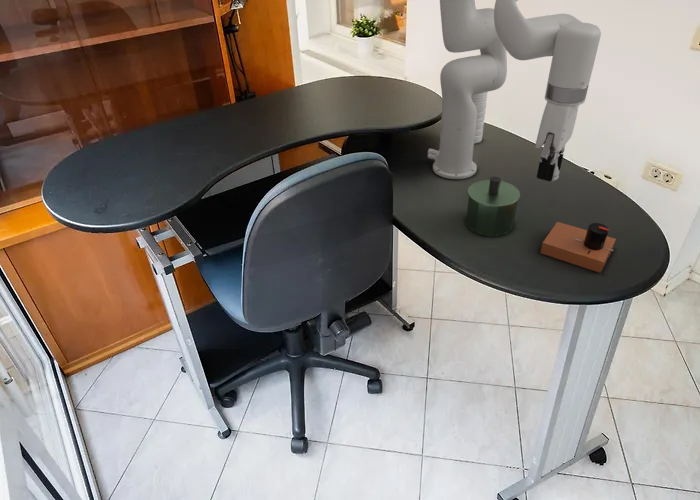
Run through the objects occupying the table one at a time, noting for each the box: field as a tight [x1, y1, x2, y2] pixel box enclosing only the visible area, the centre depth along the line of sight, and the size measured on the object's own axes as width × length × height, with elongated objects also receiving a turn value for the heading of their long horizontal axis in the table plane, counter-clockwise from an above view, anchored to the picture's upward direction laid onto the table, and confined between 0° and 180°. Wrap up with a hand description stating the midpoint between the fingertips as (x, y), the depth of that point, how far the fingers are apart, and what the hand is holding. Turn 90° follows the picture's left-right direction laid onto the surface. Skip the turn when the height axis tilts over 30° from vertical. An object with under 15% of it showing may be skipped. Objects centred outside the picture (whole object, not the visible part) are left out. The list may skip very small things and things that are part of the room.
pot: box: [465, 196, 519, 238], centre depth 122 cm, size 11×11×8 cm
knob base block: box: [540, 221, 617, 274], centre depth 113 cm, size 14×10×3 cm
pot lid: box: [467, 176, 521, 207], centre depth 118 cm, size 12×12×5 cm
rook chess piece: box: [540, 147, 562, 182], centre depth 108 cm, size 4×4×8 cm
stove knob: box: [584, 222, 610, 250], centre depth 109 cm, size 4×4×5 cm
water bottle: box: [471, 91, 489, 145], centre depth 156 cm, size 9×6×25 cm
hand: (548, 173), depth 110 cm, fingers closed on rook chess piece, 4 cm apart
